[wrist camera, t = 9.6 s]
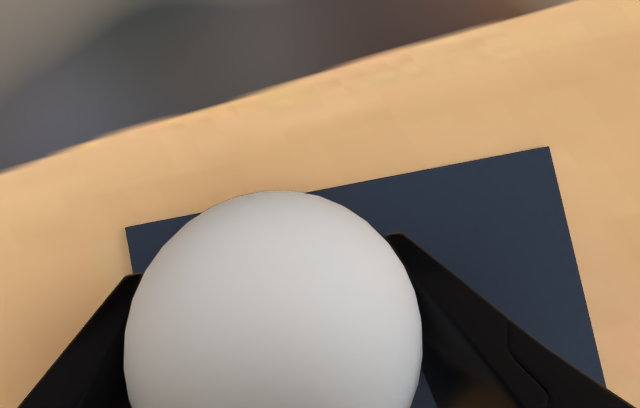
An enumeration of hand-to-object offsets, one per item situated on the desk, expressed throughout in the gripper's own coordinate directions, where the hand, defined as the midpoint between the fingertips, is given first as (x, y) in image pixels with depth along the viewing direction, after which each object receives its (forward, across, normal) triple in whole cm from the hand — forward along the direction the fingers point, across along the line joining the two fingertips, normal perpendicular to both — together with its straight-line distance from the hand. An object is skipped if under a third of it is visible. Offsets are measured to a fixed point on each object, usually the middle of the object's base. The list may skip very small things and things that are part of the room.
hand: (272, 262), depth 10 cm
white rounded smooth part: (+4, 0, +6) cm, 7 cm away
